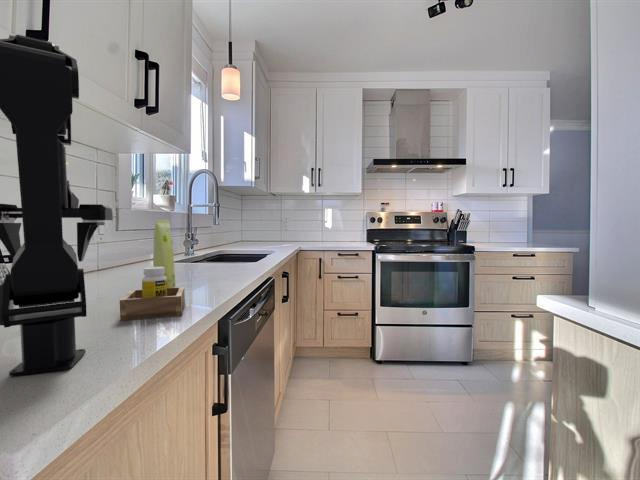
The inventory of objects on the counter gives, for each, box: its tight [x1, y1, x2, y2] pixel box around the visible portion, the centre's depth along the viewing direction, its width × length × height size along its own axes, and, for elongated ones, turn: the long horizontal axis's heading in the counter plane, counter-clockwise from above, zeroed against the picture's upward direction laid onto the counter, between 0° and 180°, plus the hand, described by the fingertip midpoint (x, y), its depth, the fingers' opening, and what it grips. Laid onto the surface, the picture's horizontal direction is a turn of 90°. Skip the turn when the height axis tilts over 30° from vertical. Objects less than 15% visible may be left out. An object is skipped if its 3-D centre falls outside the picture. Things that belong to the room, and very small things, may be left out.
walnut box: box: [119, 286, 186, 322], centre depth 74 cm, size 11×11×4 cm
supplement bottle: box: [141, 266, 167, 298], centre depth 74 cm, size 5×5×8 cm
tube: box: [153, 219, 176, 288], centre depth 84 cm, size 6×5×20 cm
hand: (50, 262), depth 62 cm, fingers open, 9 cm apart
